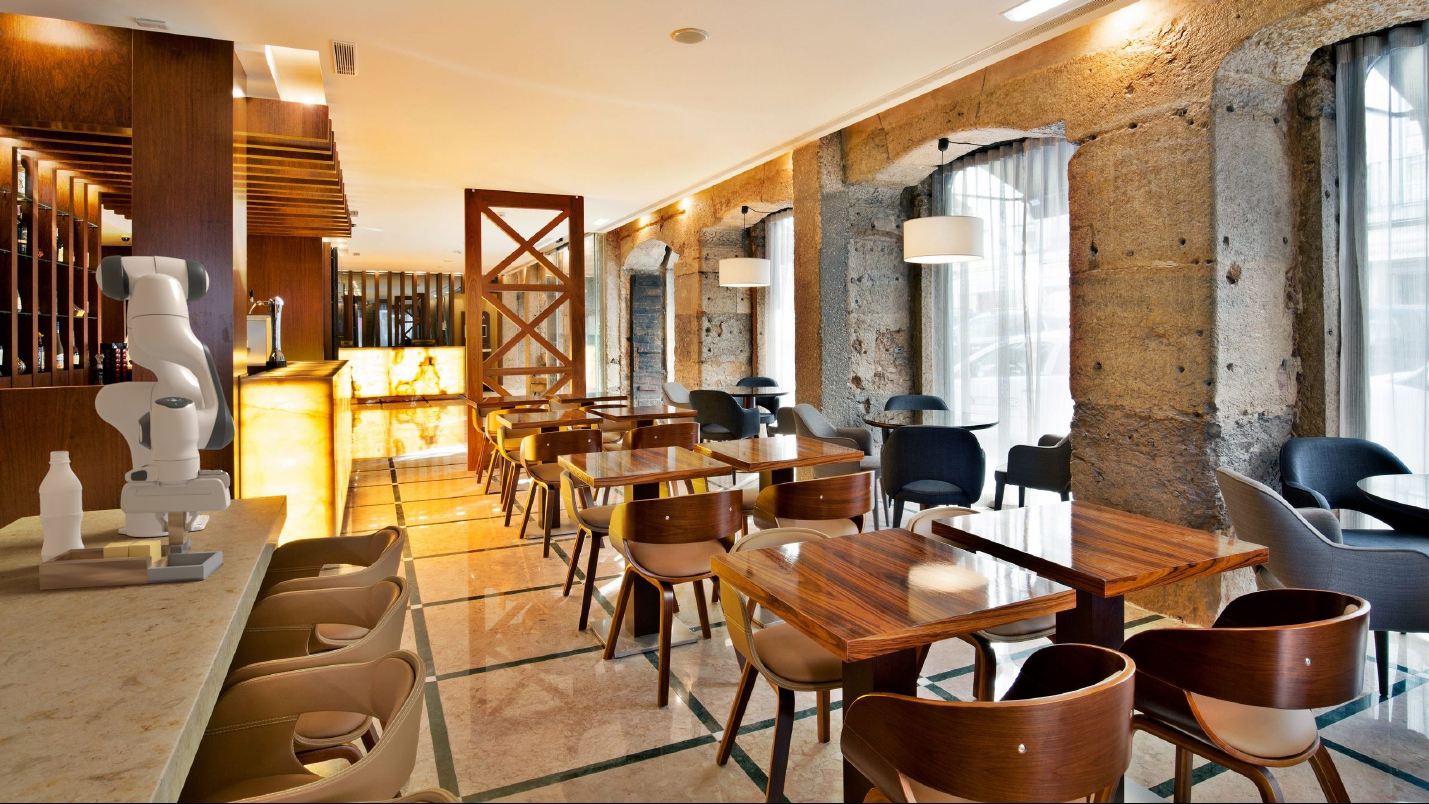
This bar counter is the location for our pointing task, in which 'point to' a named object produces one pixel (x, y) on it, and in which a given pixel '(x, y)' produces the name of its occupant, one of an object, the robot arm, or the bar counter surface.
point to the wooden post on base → (178, 533)
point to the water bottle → (60, 508)
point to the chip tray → (186, 567)
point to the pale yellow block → (117, 550)
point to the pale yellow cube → (146, 549)
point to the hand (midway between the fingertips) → (178, 531)
